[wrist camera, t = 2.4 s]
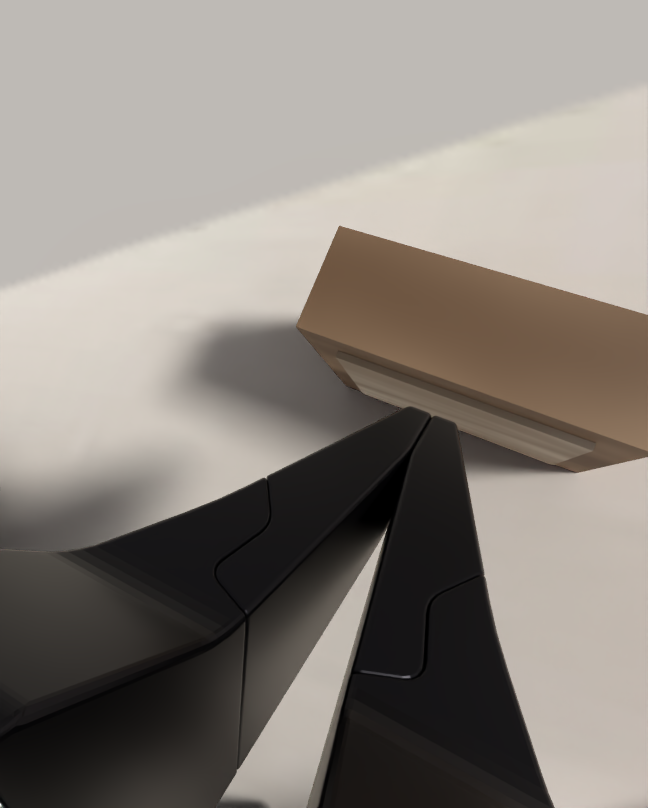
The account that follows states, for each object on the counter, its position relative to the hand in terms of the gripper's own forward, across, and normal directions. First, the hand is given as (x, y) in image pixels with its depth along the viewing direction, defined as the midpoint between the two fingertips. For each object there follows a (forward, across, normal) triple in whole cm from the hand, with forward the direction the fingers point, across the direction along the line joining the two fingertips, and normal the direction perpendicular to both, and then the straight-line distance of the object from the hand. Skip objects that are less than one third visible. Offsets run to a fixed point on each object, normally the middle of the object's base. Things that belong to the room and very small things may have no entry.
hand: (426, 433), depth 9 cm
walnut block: (+10, 0, +6) cm, 12 cm away
